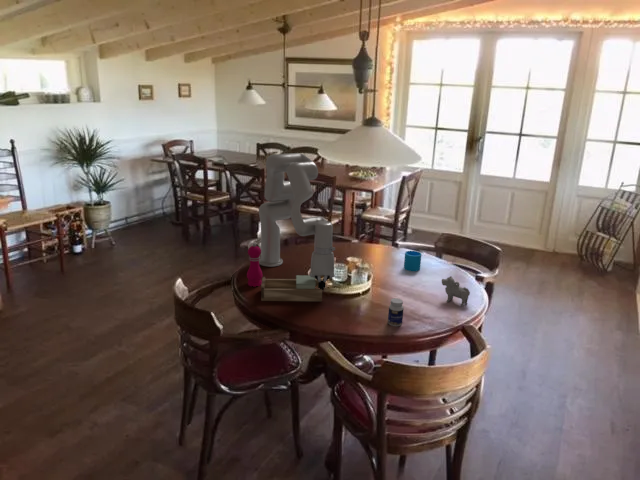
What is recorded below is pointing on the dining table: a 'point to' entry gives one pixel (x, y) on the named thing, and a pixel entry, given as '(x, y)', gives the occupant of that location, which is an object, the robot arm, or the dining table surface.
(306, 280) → the grey-green block
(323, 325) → the dining table surface
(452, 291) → the dog figurine
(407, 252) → the mug
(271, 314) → the dining table surface
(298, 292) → the bay
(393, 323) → the pill bottle
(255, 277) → the pepper mill
